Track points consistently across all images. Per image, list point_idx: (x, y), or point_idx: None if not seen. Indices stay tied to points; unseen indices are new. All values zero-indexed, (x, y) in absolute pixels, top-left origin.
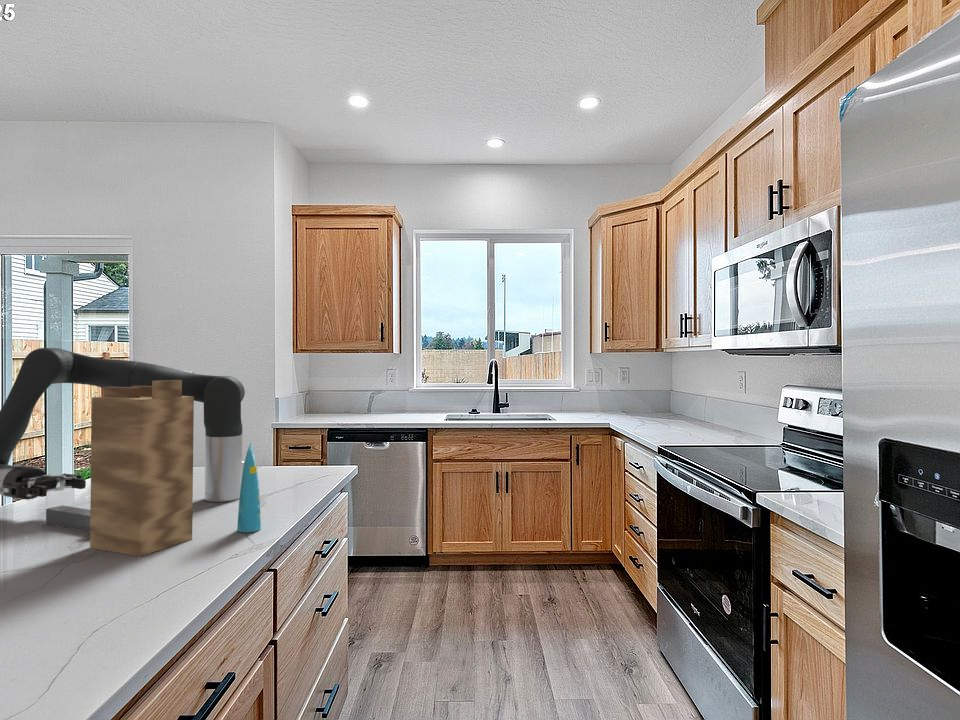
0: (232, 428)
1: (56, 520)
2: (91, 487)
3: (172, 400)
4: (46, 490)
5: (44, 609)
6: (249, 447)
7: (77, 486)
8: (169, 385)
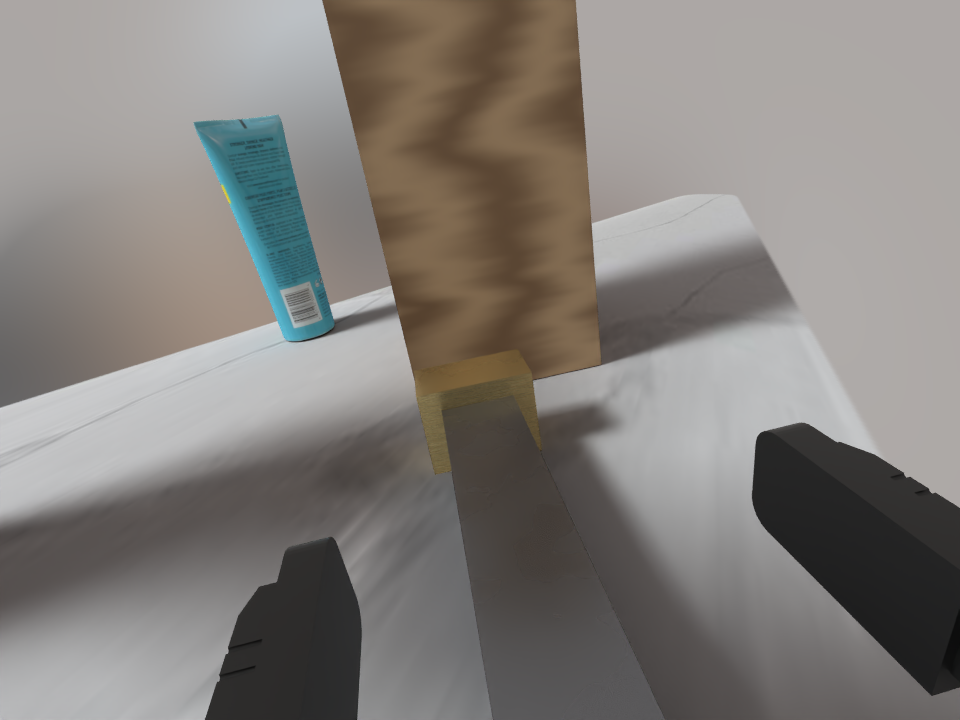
0: None
1: None
2: (586, 170)
3: None
4: (757, 459)
5: (716, 242)
6: (264, 122)
7: (347, 687)
8: None
